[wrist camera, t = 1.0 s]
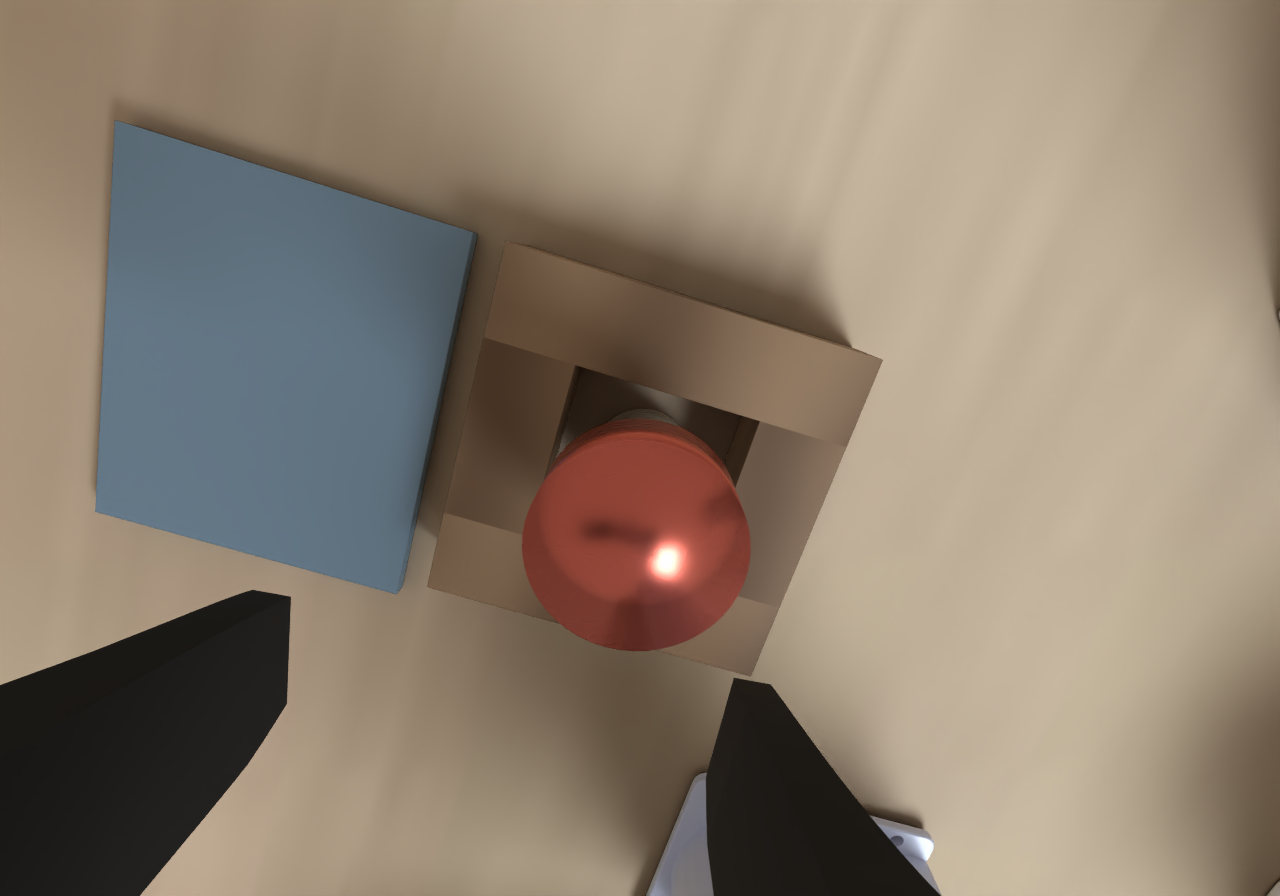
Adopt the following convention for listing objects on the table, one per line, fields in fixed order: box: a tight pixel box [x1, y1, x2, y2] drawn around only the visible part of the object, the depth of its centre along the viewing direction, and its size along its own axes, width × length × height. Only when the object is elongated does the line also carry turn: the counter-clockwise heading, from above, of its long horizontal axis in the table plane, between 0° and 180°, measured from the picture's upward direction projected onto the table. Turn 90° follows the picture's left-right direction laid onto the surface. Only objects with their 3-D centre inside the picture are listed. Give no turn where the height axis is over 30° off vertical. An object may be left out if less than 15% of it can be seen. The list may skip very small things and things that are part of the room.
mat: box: [95, 120, 478, 594], centre depth 19 cm, size 10×12×1 cm
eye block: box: [427, 241, 883, 676], centre depth 18 cm, size 10×10×2 cm
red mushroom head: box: [522, 409, 751, 651], centre depth 16 cm, size 5×5×7 cm
